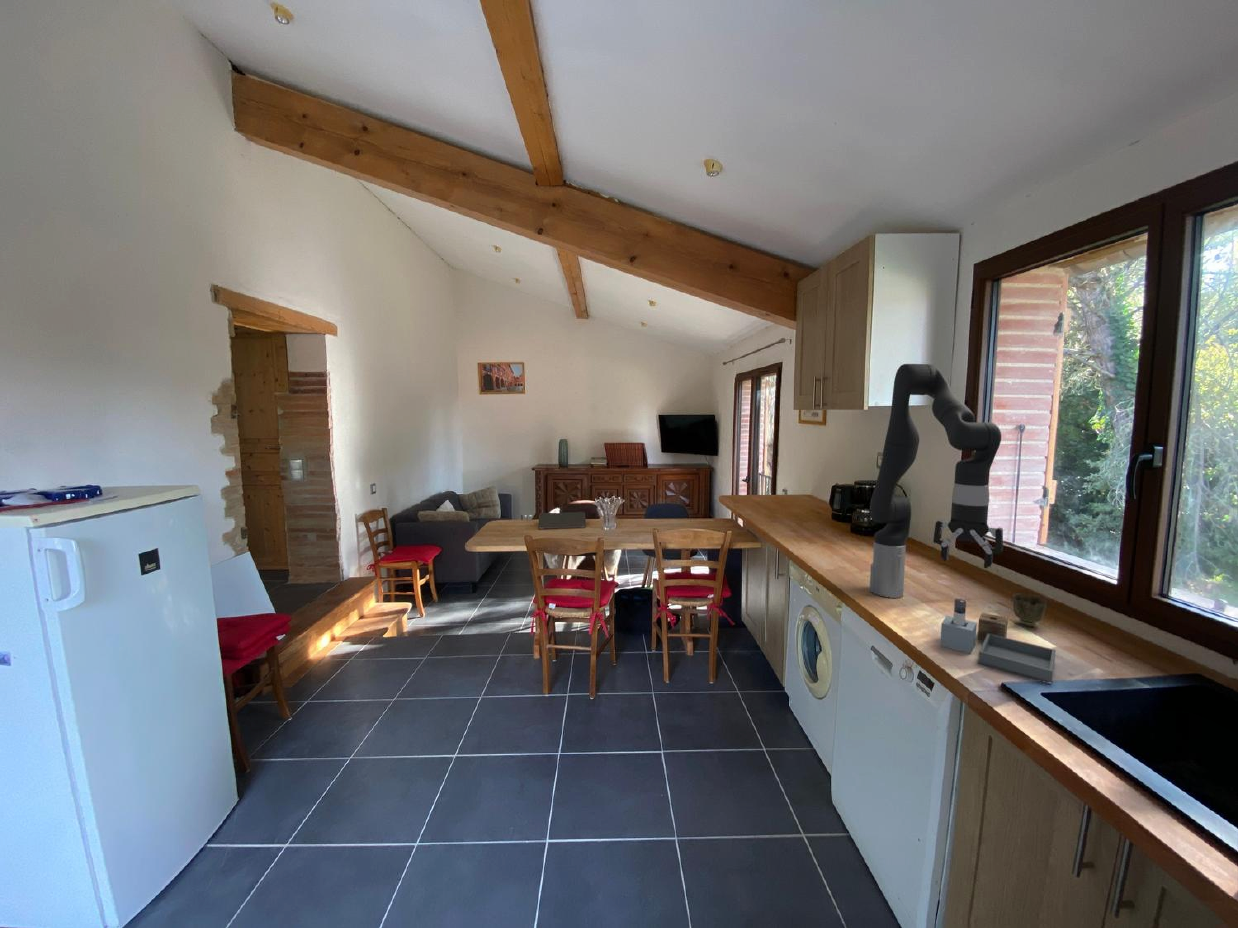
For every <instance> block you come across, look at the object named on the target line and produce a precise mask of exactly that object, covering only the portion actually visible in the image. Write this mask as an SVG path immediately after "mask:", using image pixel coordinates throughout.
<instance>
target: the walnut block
mask: <svg viewBox="0 0 1238 928" xmlns="http://www.w3.org/2000/svg"><path fill="white" fill-rule="evenodd" d="M1008 620H1009V618H1008V617H1005V616H1004V617H1003V616H999V615H996V614H992V613H991V614H990V613H987V612H986V613H985V612H982V613H980V616H979V618H978V624H977V625H978V628H977V640H976V641H979V642H982V643H983V642H984V640H985V638H986V636H987V633H989V634H993V635H997V636H1001V637H1005V638H1008V637H1007V635H1008V622H1009V621H1008Z"/></svg>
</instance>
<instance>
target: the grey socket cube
mask: <svg viewBox="0 0 1238 928" xmlns="http://www.w3.org/2000/svg"><path fill="white" fill-rule="evenodd" d="M953 619H954V616H949V615H946V616H945V618H944V619H943V621H942V622H941V625H940V626H941V629H940V643H939V645H940V646H941V647H944V648H949V649H950V650H951V649H952V650H954V651H955V650H956V651H959V652H962V653H966V654H970V655H971V654H972V652H973V650H974V648H975V646H976V641H977V640H976V637H977V625H978V623H977V622H976V621H971V620H969V619H968V620H966V619H965V626H964V627H963V626H959V625H955V624H953Z"/></svg>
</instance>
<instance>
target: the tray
mask: <svg viewBox="0 0 1238 928" xmlns="http://www.w3.org/2000/svg"><path fill="white" fill-rule="evenodd" d="M1056 653H1057V652H1056V649H1053V648H1048V647H1044V646H1041V645H1036V644H1034V643H1029V642H1025V641H1021V640H1016V639H1012V638H1008V637H1006V638H1005V637H1001V636H997V635H993V634H989V633H987V636H986V638H985V640H984V642H982V645H981V647H980V649H979V653H978V664H979V665H982V666H986V667H989V668H994V669H997V670H1001V671H1004V672H1006V673H1007V672H1008V673H1010V674H1014V675H1018V676H1021V677H1025V678H1028V679H1032V680H1035V681H1039V682H1042V681H1045V682H1051V683H1053V676H1054V671H1055V670H1054V668H1055V660H1056ZM1045 682H1044V683H1045Z"/></svg>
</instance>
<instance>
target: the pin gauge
mask: <svg viewBox="0 0 1238 928" xmlns="http://www.w3.org/2000/svg"><path fill="white" fill-rule="evenodd" d="M966 609H967V600H965V599H962V598H955V599H954V607H953V617H954V619H953V624H955V625H959V626H963V627H964V626H965V620H966V613H967V612H966V611H967V610H966Z"/></svg>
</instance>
